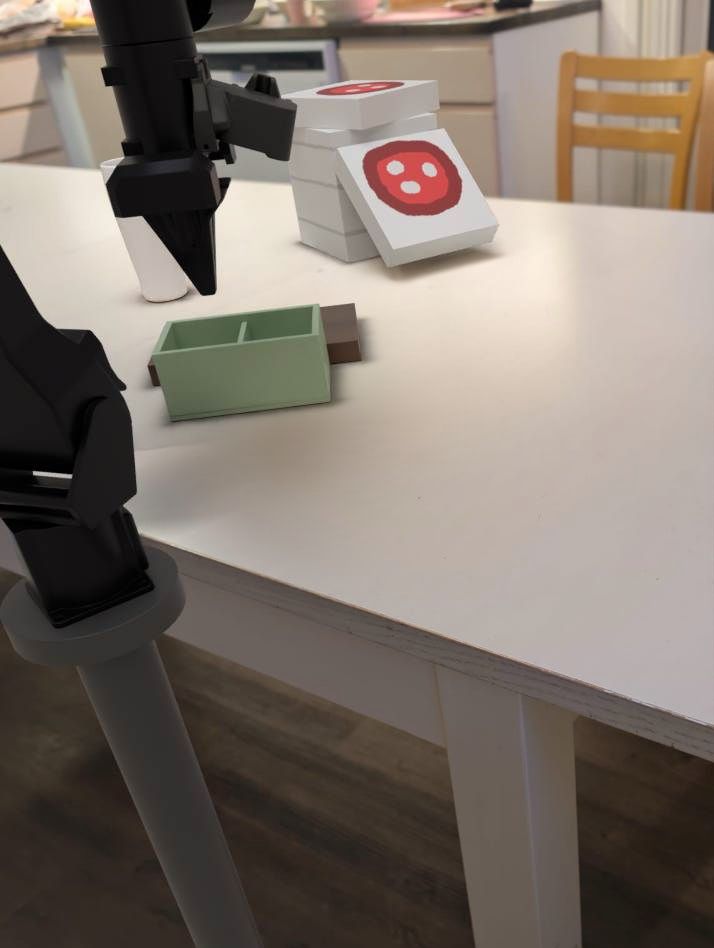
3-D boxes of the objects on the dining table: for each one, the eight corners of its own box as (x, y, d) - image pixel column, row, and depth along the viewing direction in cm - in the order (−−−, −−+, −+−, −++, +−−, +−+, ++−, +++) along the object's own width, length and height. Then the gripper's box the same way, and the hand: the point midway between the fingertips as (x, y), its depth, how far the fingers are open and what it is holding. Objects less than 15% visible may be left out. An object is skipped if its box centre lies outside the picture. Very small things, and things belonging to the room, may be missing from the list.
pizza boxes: (383, 287, 110) (359, 113, 99) (283, 242, 131) (254, 94, 120) (517, 252, 117) (509, 87, 107) (402, 215, 138) (385, 74, 127)
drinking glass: (171, 285, 117) (135, 153, 109) (206, 291, 114) (172, 155, 105) (126, 301, 113) (86, 165, 104) (162, 308, 110) (123, 167, 101)
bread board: (361, 360, 91) (358, 339, 89) (153, 386, 89) (146, 365, 88) (357, 321, 100) (354, 302, 99) (169, 344, 99) (164, 325, 98)
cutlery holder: (330, 401, 83) (318, 334, 79) (171, 421, 82) (151, 354, 78) (330, 366, 90) (319, 303, 86) (183, 384, 89) (166, 321, 86)
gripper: (270, 38, 52) (320, 320, 61) (280, 21, 67) (319, 250, 76) (66, 58, 51) (148, 340, 60) (123, 37, 66) (181, 266, 75)
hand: (209, 294), depth 68 cm, fingers closed
